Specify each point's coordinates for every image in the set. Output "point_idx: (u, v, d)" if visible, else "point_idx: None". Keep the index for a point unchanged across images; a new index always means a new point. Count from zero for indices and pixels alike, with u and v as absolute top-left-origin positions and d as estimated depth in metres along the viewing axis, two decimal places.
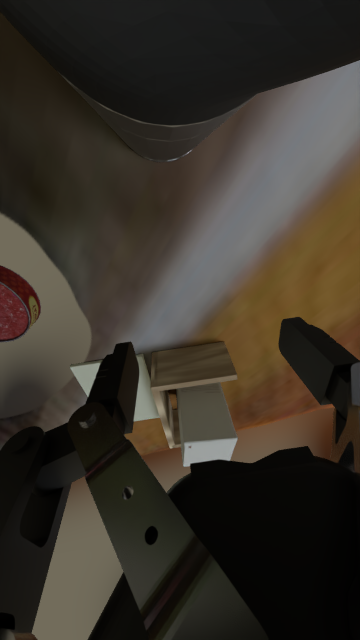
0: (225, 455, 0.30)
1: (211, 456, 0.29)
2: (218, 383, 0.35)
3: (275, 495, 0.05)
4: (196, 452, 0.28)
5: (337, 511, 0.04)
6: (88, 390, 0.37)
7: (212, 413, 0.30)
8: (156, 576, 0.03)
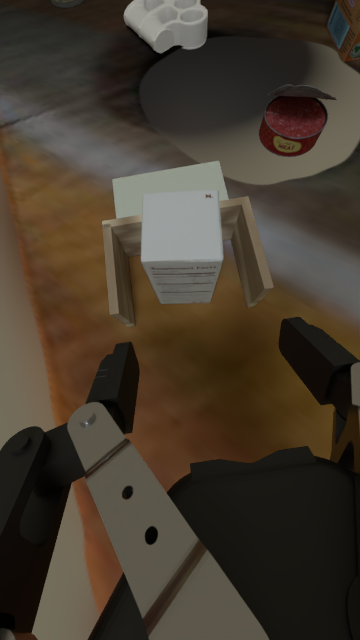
0: (171, 249, 0.18)
1: (173, 228, 0.18)
2: (212, 292, 0.26)
3: (275, 495, 0.05)
4: (192, 206, 0.19)
5: (337, 511, 0.04)
6: (182, 170, 0.34)
7: None
8: (156, 576, 0.03)
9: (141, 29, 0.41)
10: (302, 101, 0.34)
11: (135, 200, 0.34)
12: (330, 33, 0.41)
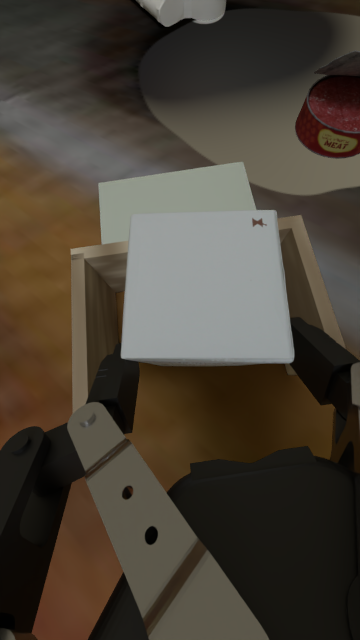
0: (184, 334, 0.09)
1: (189, 286, 0.09)
2: None
3: (275, 495, 0.05)
4: (226, 241, 0.09)
5: (337, 511, 0.04)
6: (193, 173, 0.25)
7: None
8: (156, 576, 0.03)
9: None
10: (357, 84, 0.25)
11: (128, 212, 0.24)
12: None
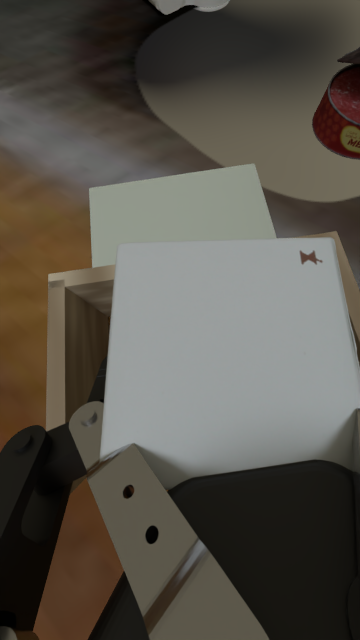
0: (201, 446, 0.05)
1: (208, 363, 0.06)
2: None
3: (275, 495, 0.05)
4: (262, 288, 0.06)
5: (337, 511, 0.04)
6: (197, 177, 0.22)
7: None
8: (156, 575, 0.03)
9: None
10: None
11: (122, 222, 0.21)
12: None
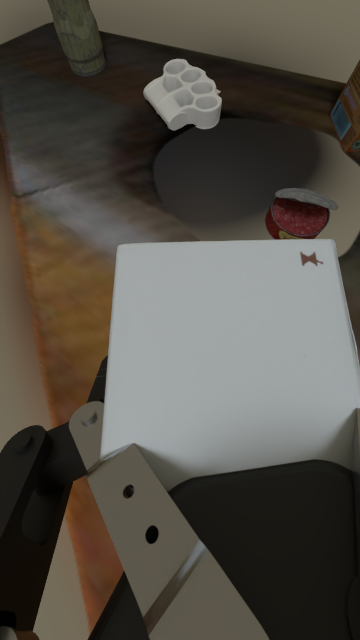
0: (201, 449, 0.05)
1: (209, 364, 0.06)
2: None
3: (275, 495, 0.05)
4: (263, 290, 0.06)
5: (337, 511, 0.04)
6: None
7: None
8: (156, 575, 0.03)
9: (158, 108, 0.44)
10: None
11: None
12: (333, 123, 0.44)
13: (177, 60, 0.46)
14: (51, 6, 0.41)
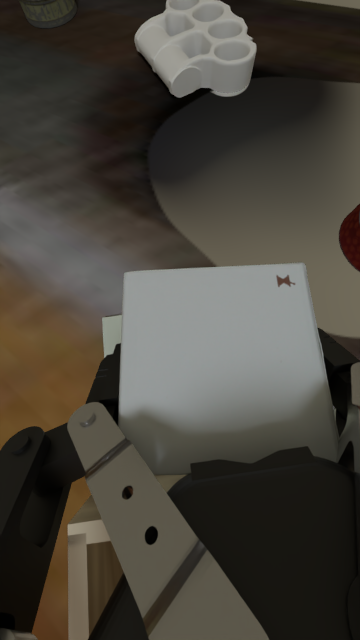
0: (199, 440, 0.07)
1: (203, 372, 0.07)
2: None
3: (275, 495, 0.05)
4: (246, 308, 0.07)
5: (337, 511, 0.04)
6: None
7: None
8: (156, 576, 0.03)
9: (156, 61, 0.28)
10: None
11: None
12: None
13: None
14: None
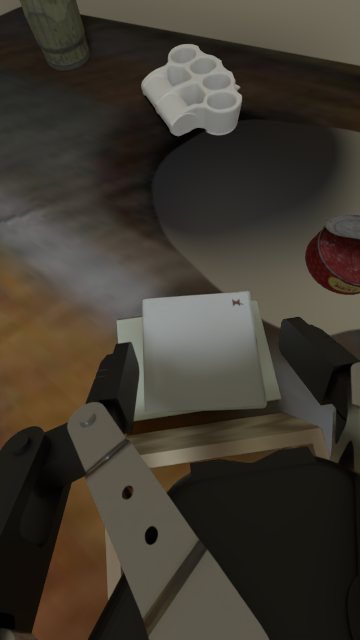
0: (189, 392, 0.12)
1: (190, 356, 0.13)
2: None
3: (275, 495, 0.05)
4: (214, 319, 0.13)
5: (337, 511, 0.04)
6: None
7: None
8: (156, 576, 0.03)
9: (159, 106, 0.34)
10: None
11: None
12: None
13: (186, 46, 0.36)
14: None
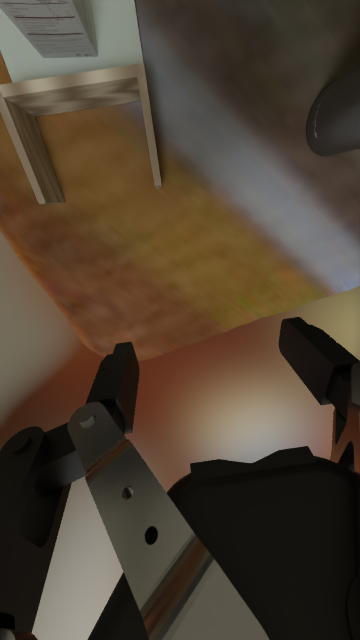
0: None
1: None
2: (90, 36, 0.25)
3: (275, 495, 0.05)
4: None
5: (337, 511, 0.04)
6: None
7: None
8: (156, 576, 0.03)
9: None
10: None
11: None
12: None
13: None
14: None
